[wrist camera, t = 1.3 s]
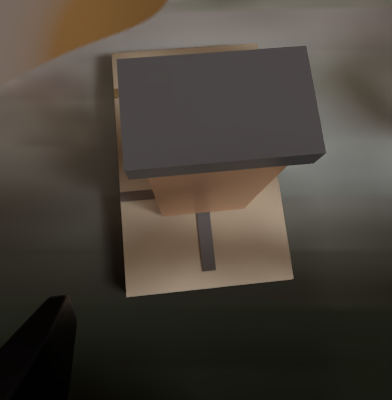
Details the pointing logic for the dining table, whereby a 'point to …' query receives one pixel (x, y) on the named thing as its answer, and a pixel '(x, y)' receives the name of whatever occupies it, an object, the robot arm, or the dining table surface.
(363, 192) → the dining table surface
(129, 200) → the fader console
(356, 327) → the dining table surface
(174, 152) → the fader tab
